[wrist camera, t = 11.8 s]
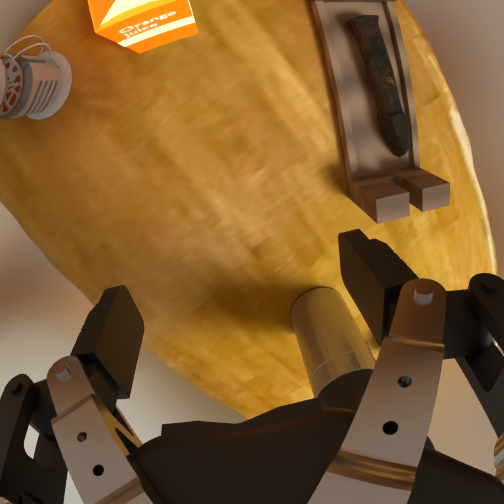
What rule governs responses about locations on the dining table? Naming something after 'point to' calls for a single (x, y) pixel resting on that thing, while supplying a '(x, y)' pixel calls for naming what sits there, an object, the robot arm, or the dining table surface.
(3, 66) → the french press
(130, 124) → the dining table surface
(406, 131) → the hand tool
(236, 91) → the dining table surface
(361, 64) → the cradle
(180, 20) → the orange juice
